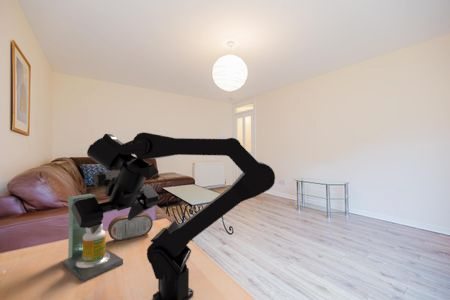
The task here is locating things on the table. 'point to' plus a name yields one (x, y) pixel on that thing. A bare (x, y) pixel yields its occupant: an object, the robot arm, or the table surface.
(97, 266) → the stand
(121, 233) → the tin
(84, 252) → the supplement bottle
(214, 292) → the table surface
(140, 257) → the table surface
